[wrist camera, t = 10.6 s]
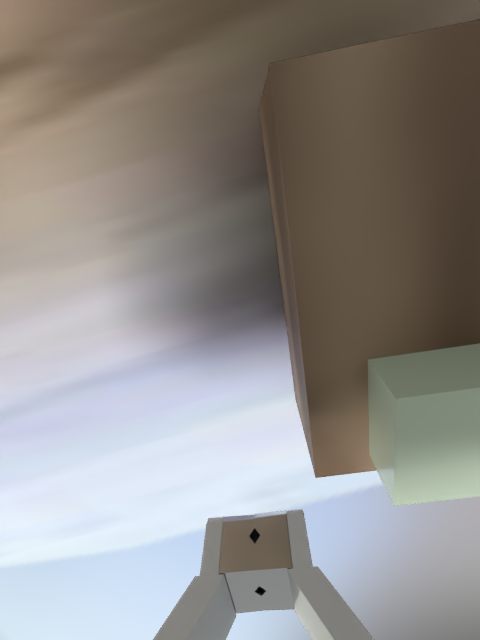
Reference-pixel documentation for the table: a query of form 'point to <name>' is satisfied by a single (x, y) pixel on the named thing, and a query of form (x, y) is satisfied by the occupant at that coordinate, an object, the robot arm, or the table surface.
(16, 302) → the table surface
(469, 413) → the sage-green tile
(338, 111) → the brown rectangular block
